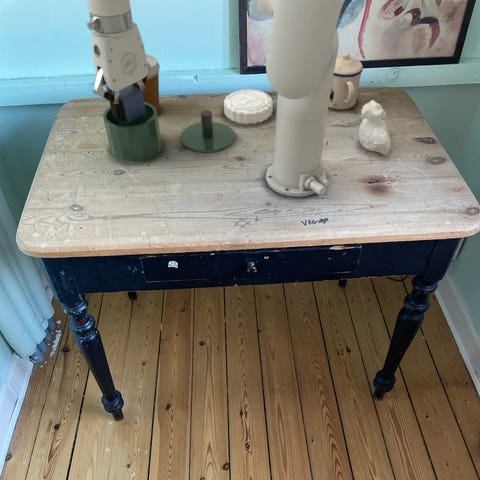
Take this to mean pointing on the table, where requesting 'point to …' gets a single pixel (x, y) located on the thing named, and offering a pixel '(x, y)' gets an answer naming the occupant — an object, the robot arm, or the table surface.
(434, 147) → the table surface
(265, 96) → the mooncake
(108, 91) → the robot arm
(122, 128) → the crock
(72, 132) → the table surface
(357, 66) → the teacup with lid
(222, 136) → the crock lid
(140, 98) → the block
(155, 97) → the disposable coffee cup
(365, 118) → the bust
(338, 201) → the table surface
